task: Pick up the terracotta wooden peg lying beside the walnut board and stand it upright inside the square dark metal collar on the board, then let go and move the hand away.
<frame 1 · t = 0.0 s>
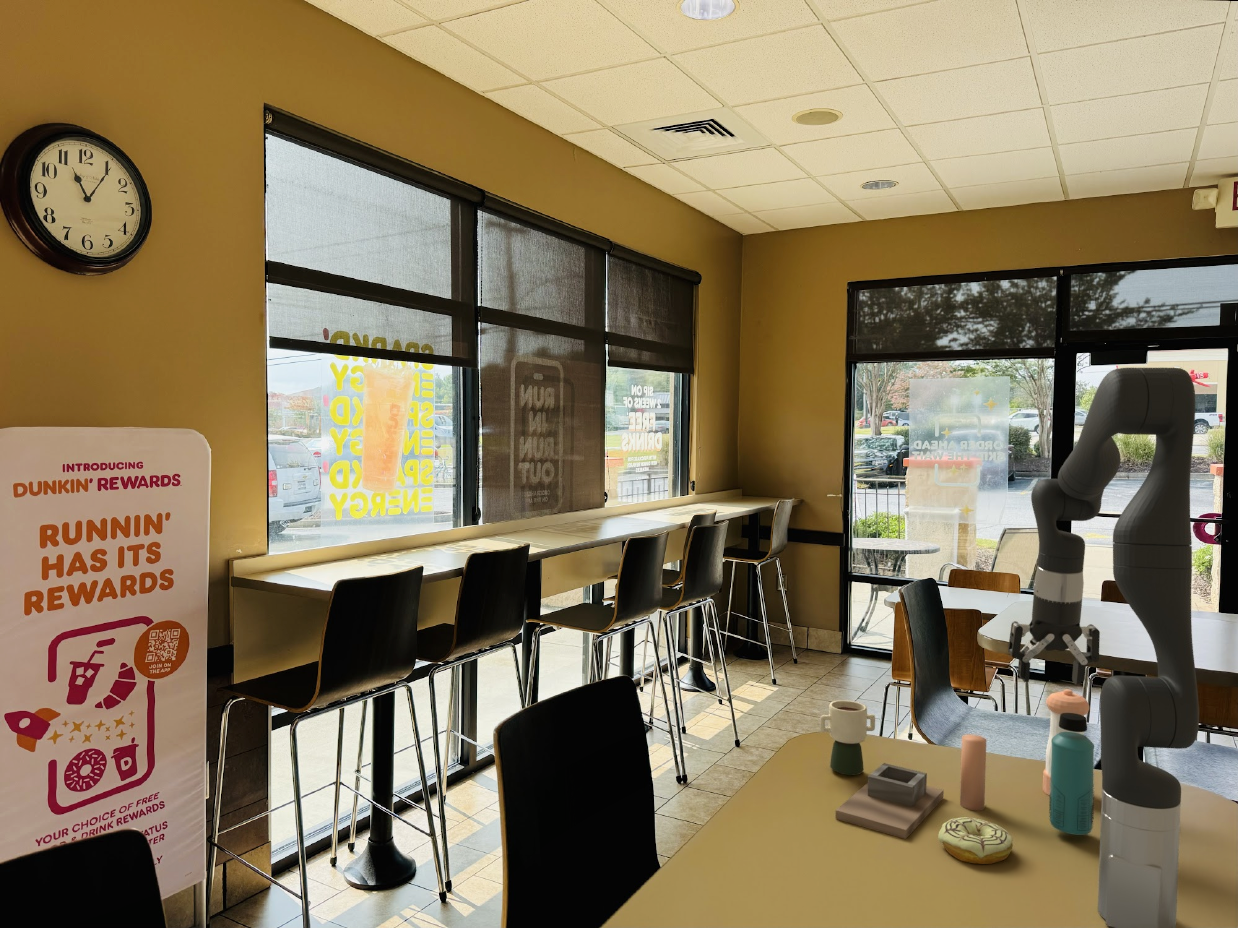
hand: (1050, 681, 156), 22 cm above the table, tool pointing down, fingers open, 8 cm apart
beverage bottle: (1069, 836, 146), on the table
peg: (972, 805, 158), on the table
decorated donut: (974, 852, 141), on the table
character mug: (846, 772, 172), on the table
holder: (890, 807, 156), on the table
pepper shaker: (1064, 794, 163), on the table
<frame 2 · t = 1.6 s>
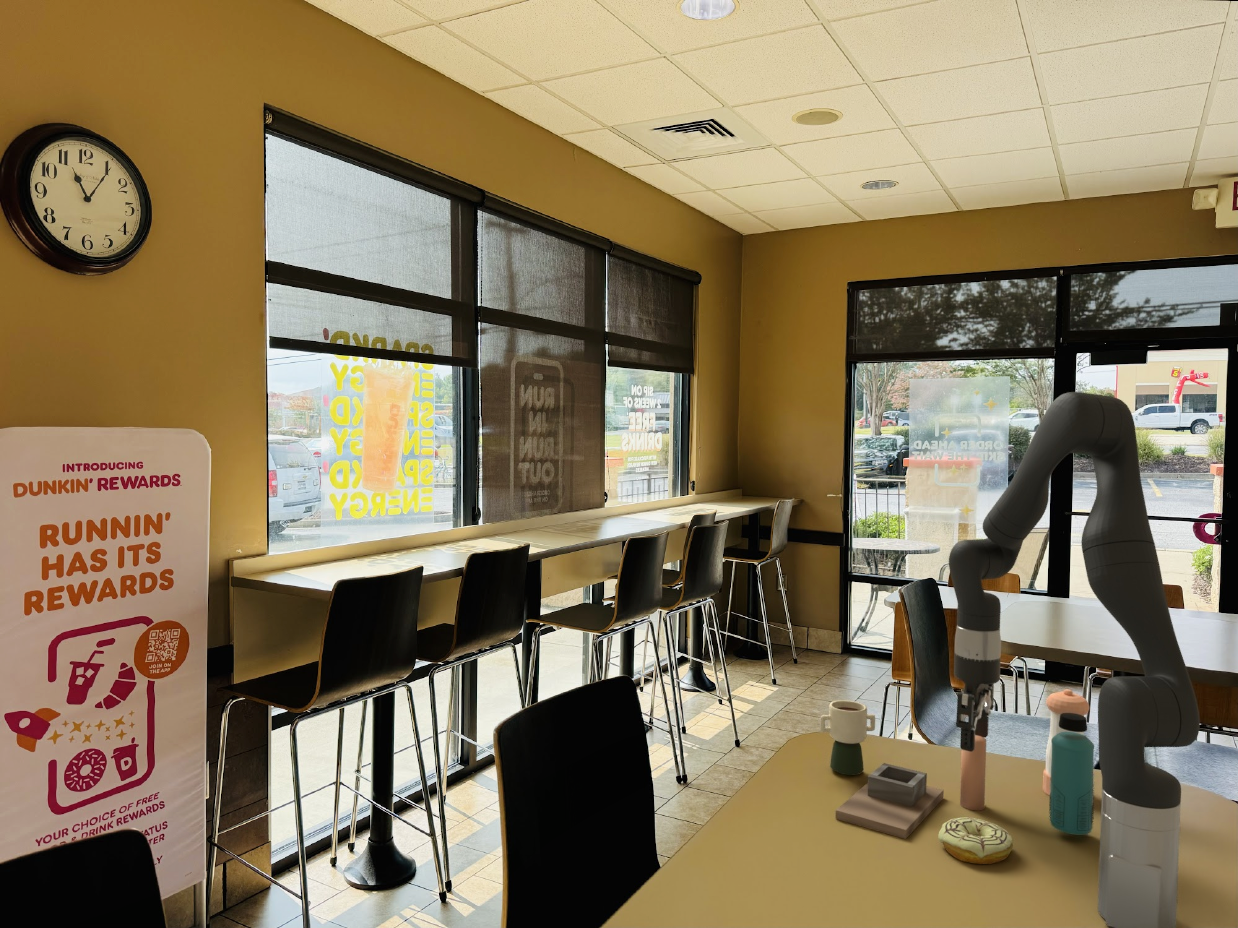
hand: (974, 742, 157), 11 cm above the table, tool pointing down, fingers open, 8 cm apart
nothing on the table moved.
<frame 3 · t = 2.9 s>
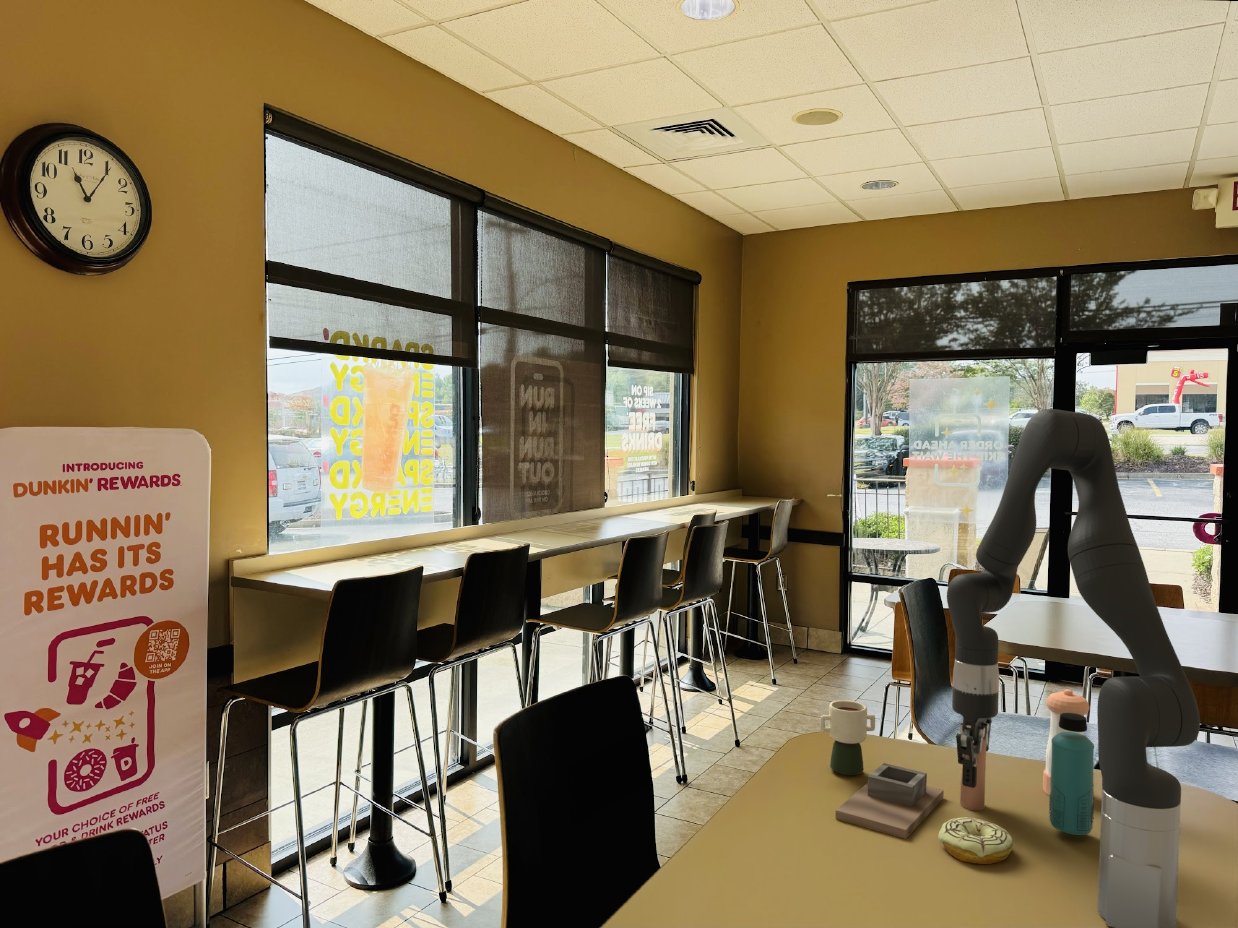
hand: (972, 781, 157), 4 cm above the table, tool pointing down, fingers closed on peg, 4 cm apart
peg: (972, 805, 158), on the table, touching gripper
everything else where it was.
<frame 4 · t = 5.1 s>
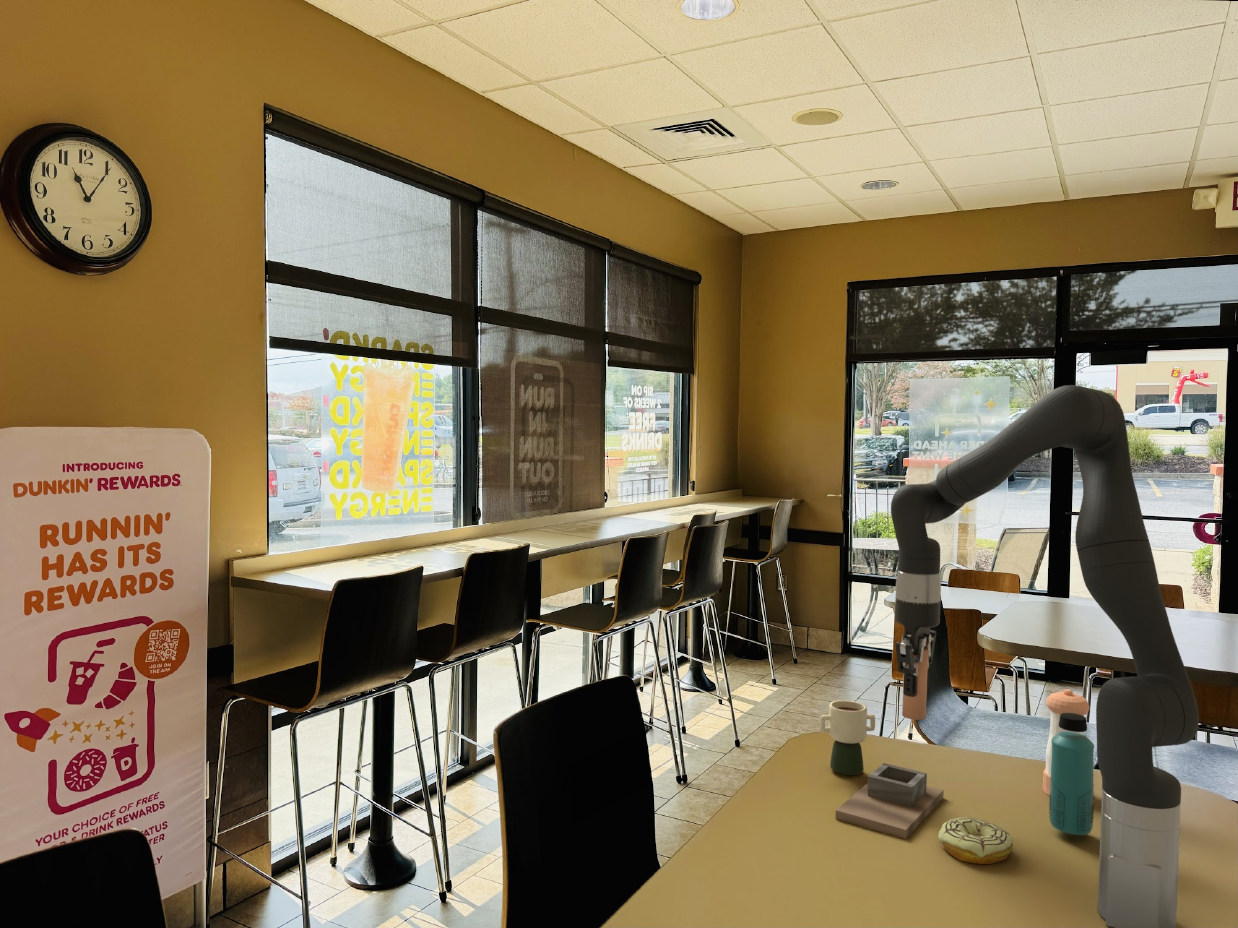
hand: (914, 692, 158), 20 cm above the table, tool pointing down, fingers closed on peg, 4 cm apart
peg: (914, 715, 158), point 15 cm above the table, touching gripper
everything else where it was.
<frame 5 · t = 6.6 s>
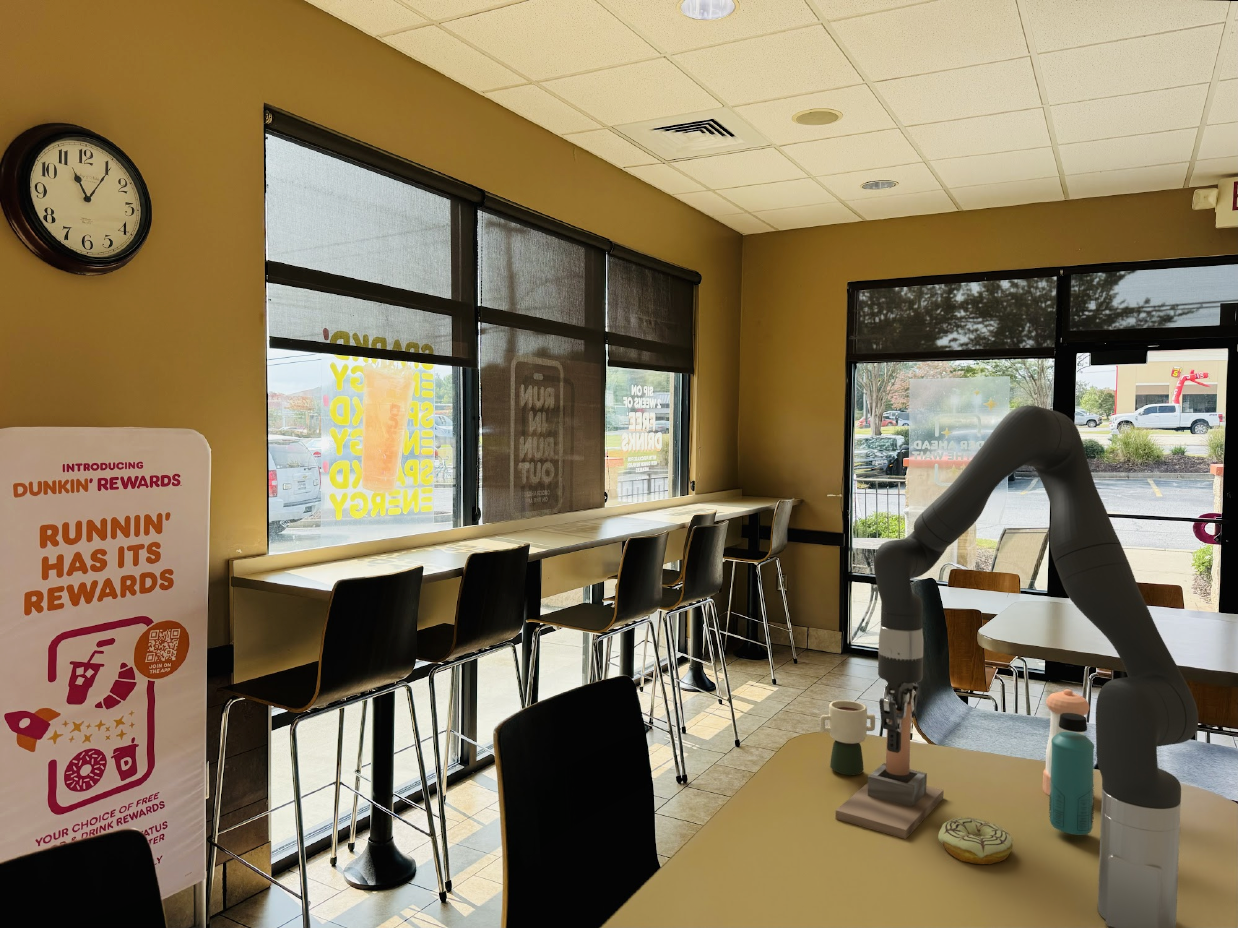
hand: (898, 747, 158), 10 cm above the table, tool pointing down, fingers closed on peg, 4 cm apart
peg: (897, 770, 158), point 6 cm above the table, touching gripper
everything else where it was.
when the fingers open (7 cm above the table, at t = 7.6 s): peg stays where it is, resting on holder.
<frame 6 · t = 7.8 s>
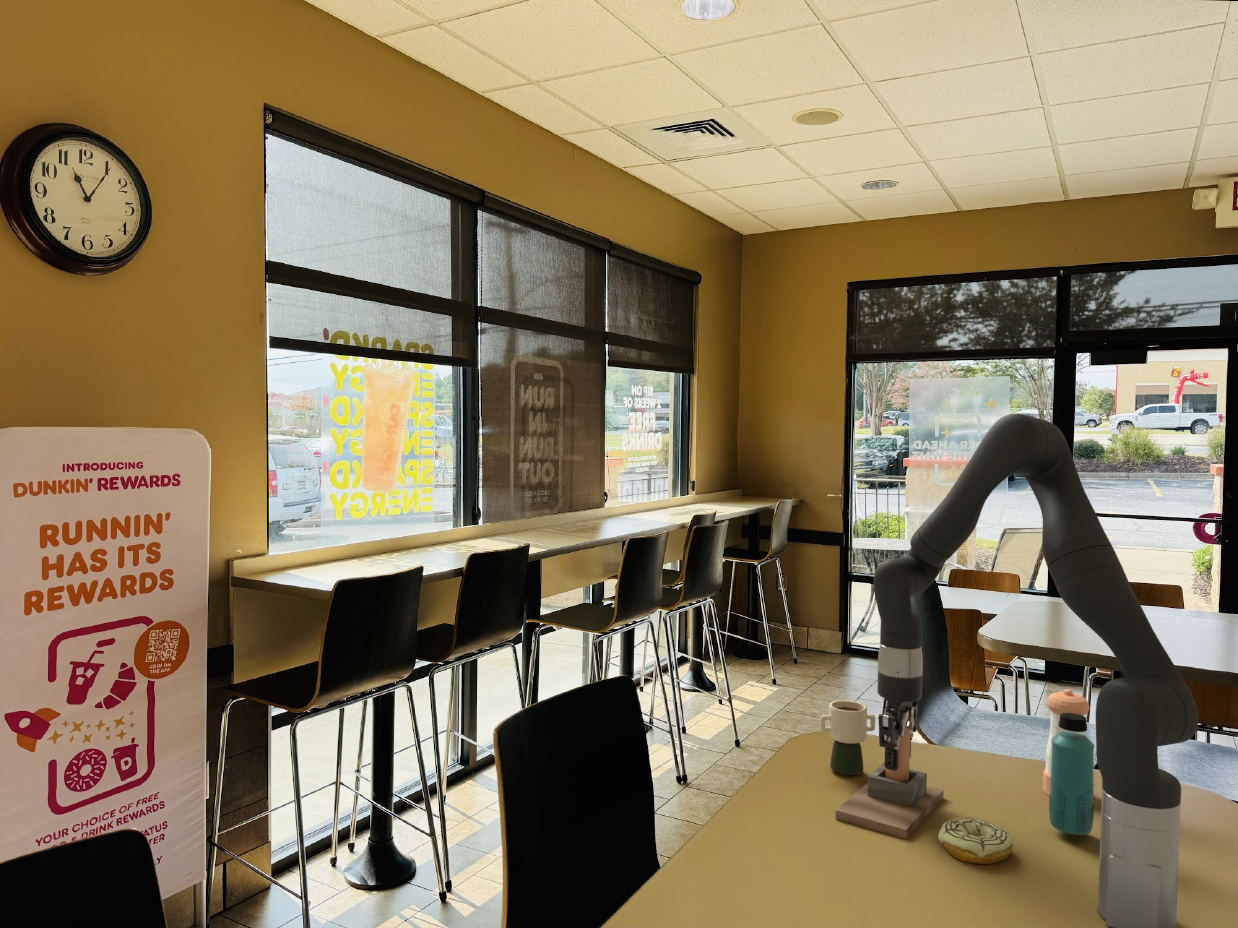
hand: (897, 763, 158), 7 cm above the table, tool pointing down, fingers open, 6 cm apart
peg: (896, 794, 158), point 2 cm above the table, touching holder
everything else where it was.
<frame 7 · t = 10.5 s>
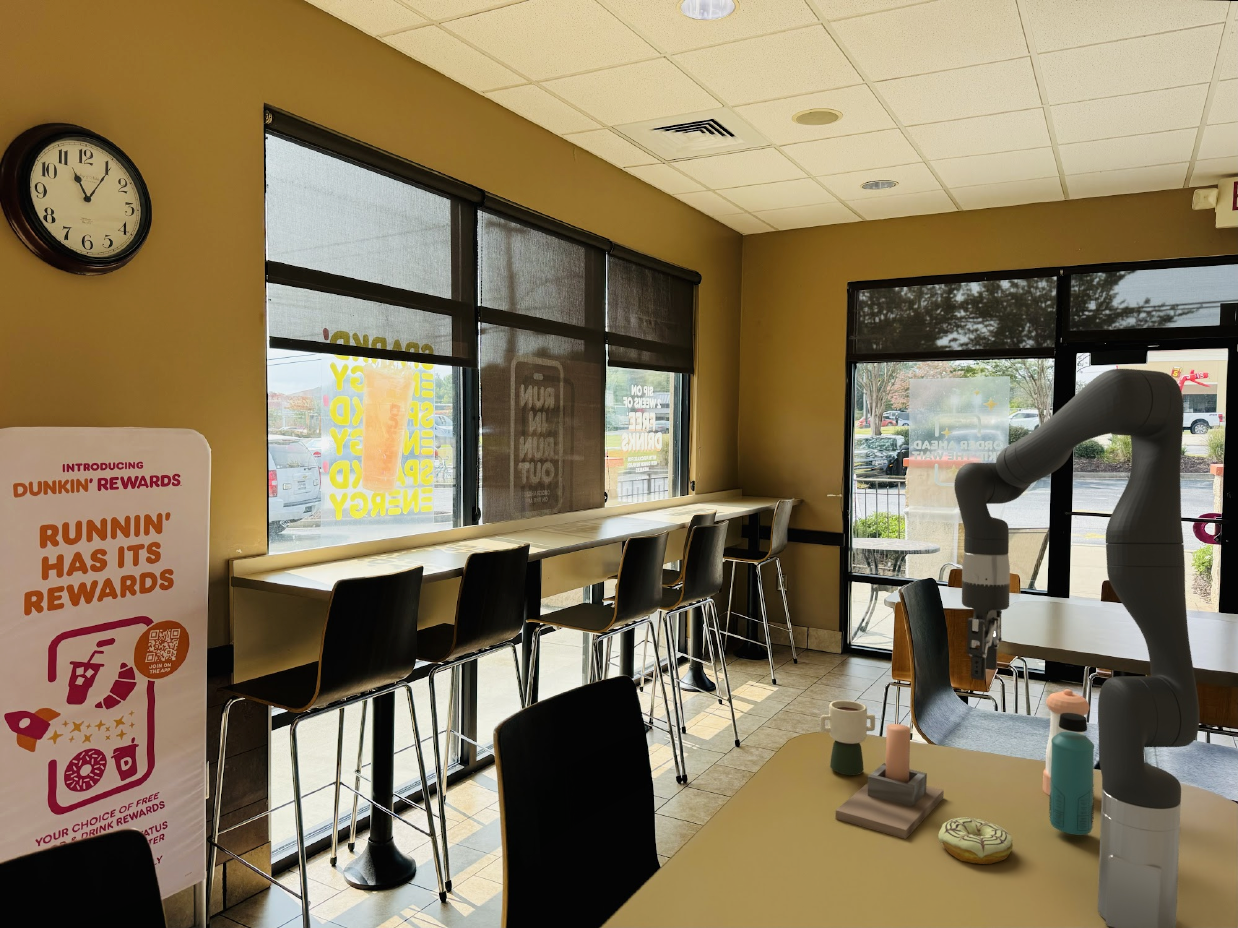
hand: (984, 673, 153), 25 cm above the table, tool pointing down, fingers open, 8 cm apart
nothing on the table moved.
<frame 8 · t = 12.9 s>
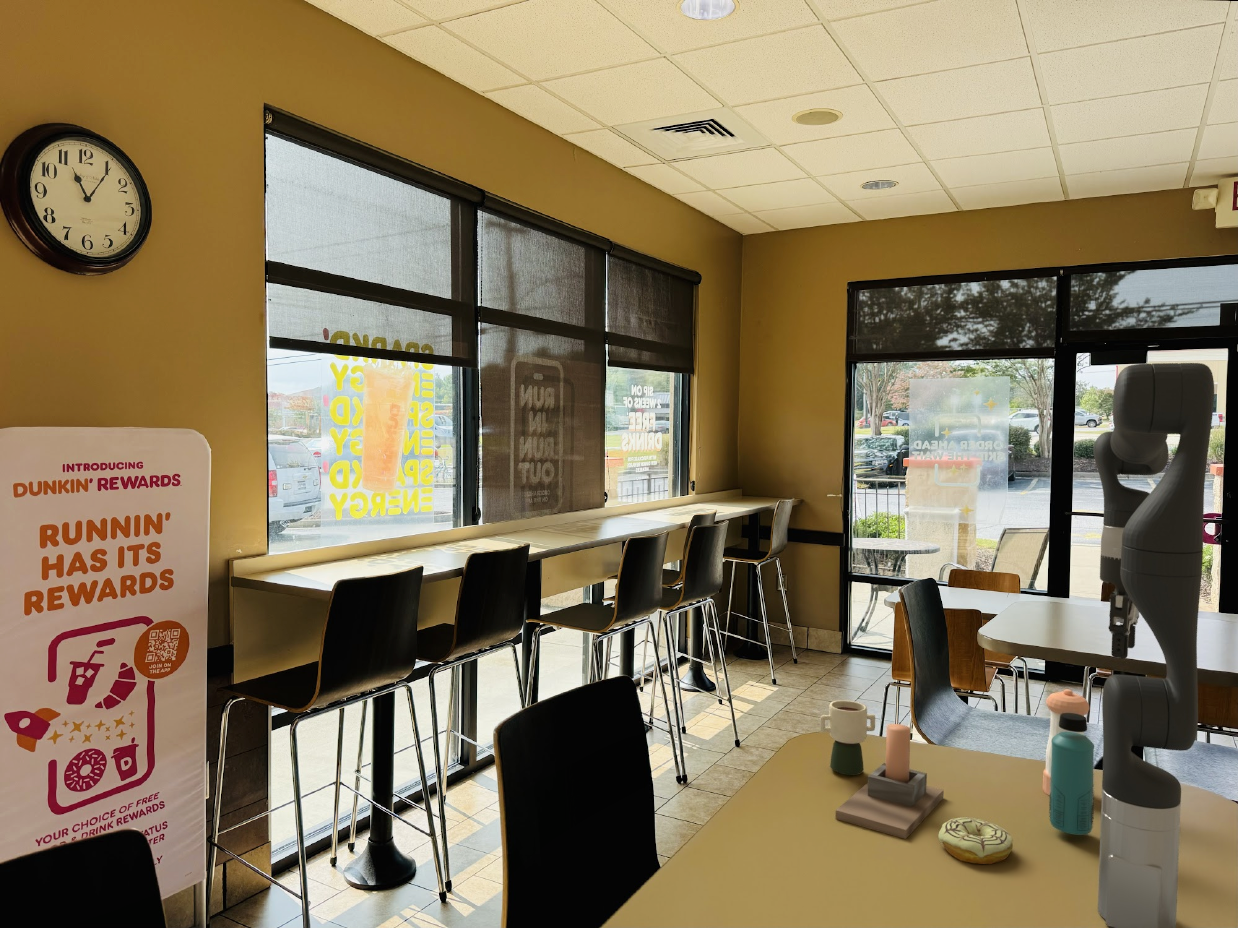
hand: (1123, 652, 146), 30 cm above the table, tool pointing down, fingers open, 8 cm apart
nothing on the table moved.
at the end: peg 0.2 cm from the target spot on the holder, point 1.5 cm above the holder's base; peg tilted 0°; the gripper is holding nothing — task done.
